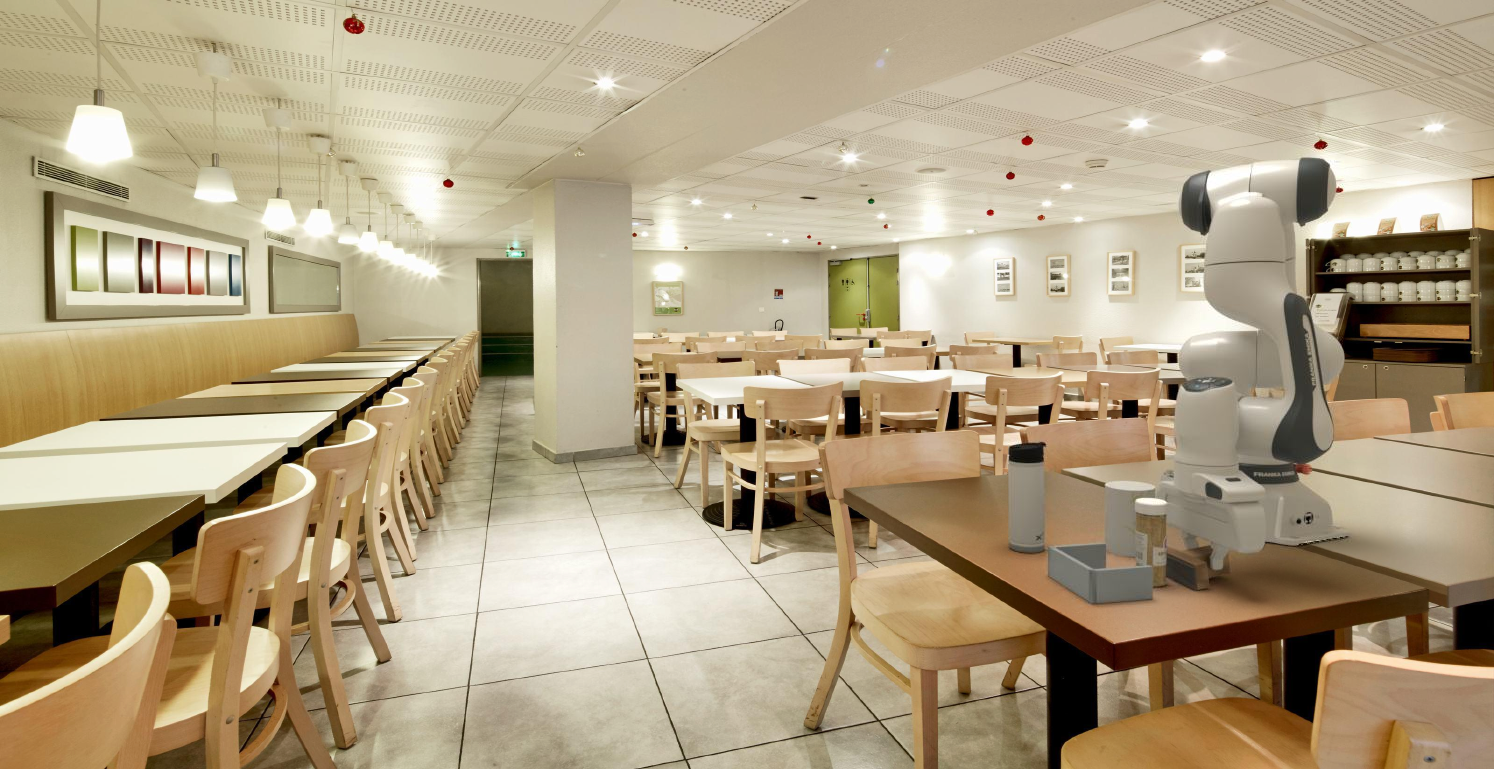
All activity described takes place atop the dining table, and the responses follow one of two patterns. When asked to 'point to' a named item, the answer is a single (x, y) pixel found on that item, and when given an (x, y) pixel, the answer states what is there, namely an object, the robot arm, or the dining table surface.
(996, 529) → the dining table surface
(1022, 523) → the travel mug
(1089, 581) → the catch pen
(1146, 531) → the sprinkles bottle
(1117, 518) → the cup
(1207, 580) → the scraper
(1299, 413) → the robot arm
